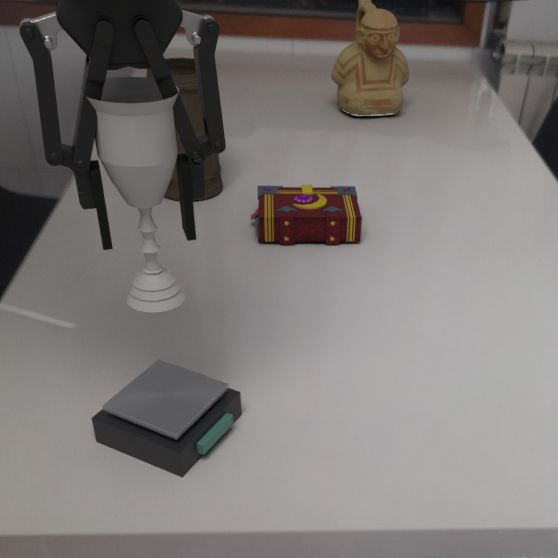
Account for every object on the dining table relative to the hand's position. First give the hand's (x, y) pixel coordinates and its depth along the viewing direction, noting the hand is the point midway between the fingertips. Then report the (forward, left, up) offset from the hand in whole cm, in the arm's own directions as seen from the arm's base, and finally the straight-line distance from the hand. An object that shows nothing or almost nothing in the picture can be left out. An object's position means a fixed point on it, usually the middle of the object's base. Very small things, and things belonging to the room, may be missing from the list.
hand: (148, 237), depth 60 cm
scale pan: (+1, -1, -17) cm, 17 cm away
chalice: (0, 0, -6) cm, 6 cm away
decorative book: (-9, +45, -20) cm, 50 cm away
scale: (+1, -1, -20) cm, 20 cm away
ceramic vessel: (-25, +104, -20) cm, 109 cm away
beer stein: (-33, +46, -20) cm, 60 cm away
